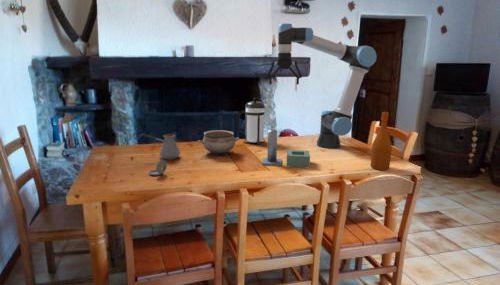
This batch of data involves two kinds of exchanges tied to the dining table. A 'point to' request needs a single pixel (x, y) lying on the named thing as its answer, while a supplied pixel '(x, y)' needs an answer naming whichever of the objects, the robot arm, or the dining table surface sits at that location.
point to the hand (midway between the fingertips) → (284, 90)
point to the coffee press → (253, 122)
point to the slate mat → (265, 162)
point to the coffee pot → (167, 146)
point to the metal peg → (272, 145)
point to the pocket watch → (159, 167)
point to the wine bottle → (381, 146)
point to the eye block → (298, 158)
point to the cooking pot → (218, 141)
